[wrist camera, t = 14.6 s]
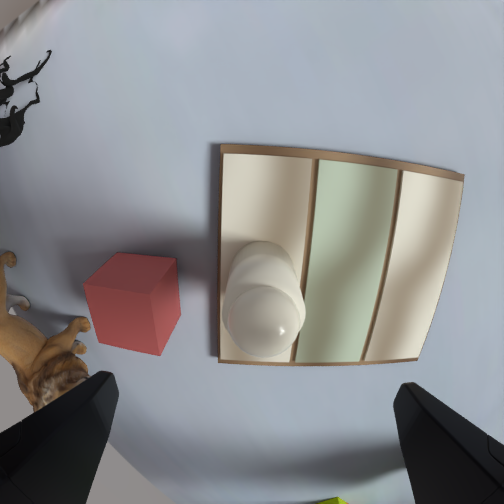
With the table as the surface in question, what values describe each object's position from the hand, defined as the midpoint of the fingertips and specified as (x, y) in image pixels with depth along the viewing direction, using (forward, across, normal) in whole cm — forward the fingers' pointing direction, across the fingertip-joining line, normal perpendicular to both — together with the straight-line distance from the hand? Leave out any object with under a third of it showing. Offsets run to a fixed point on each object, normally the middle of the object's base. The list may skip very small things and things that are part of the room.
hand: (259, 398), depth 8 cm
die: (+8, +5, +2) cm, 10 cm away
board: (+11, -5, 0) cm, 12 cm away
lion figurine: (+11, +15, +5) cm, 19 cm away
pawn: (+10, 0, 0) cm, 10 cm away
